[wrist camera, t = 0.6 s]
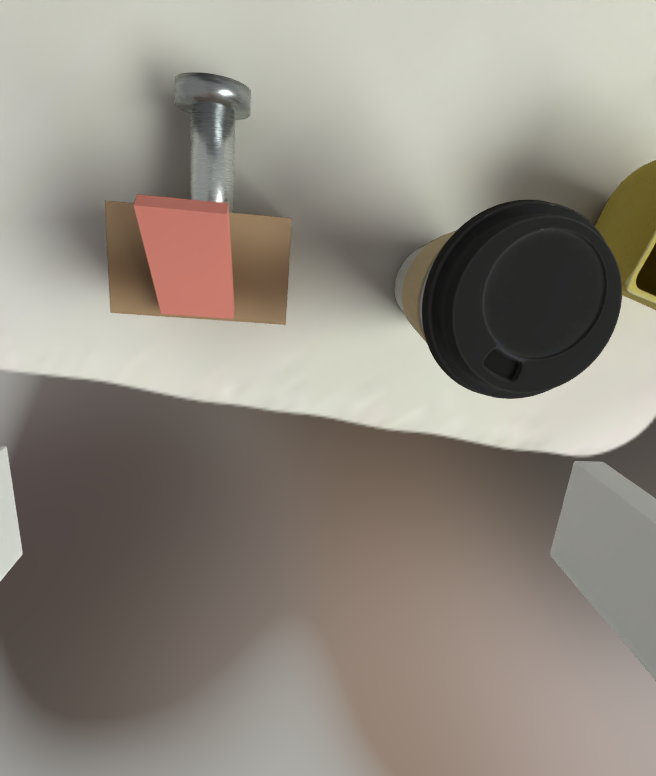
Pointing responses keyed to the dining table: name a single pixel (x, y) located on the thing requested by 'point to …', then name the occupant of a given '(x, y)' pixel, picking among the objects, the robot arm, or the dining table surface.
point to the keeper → (188, 254)
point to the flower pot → (633, 233)
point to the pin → (212, 131)
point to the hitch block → (249, 266)
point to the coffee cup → (514, 298)
